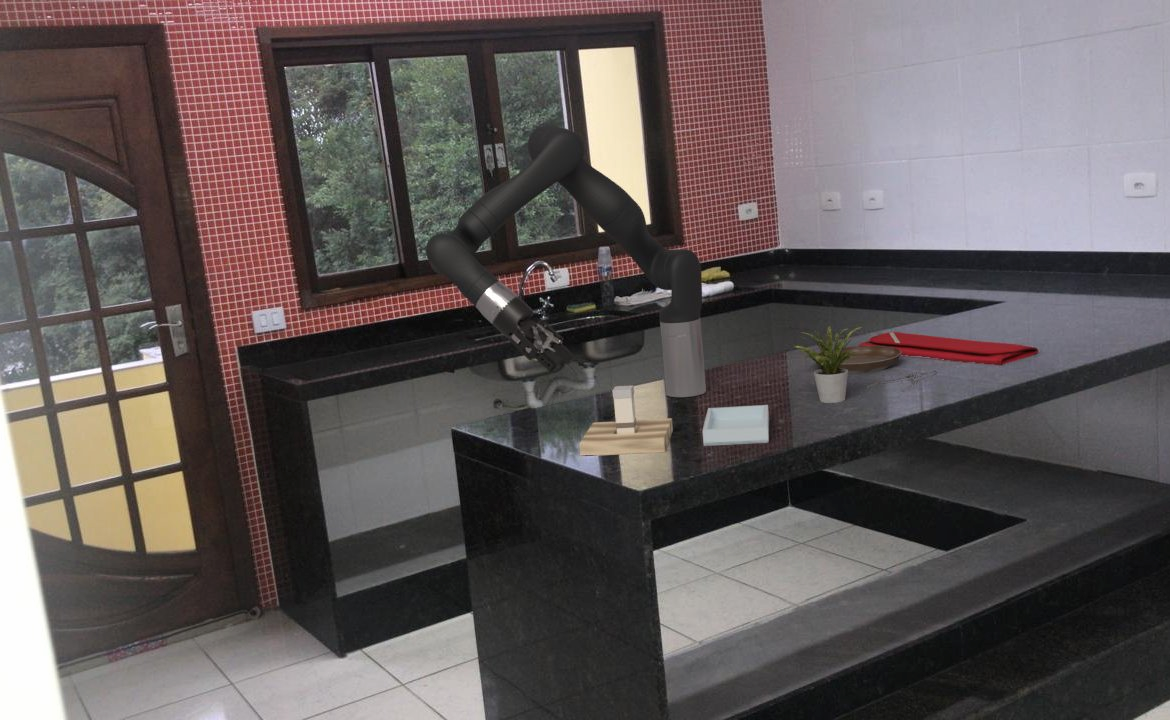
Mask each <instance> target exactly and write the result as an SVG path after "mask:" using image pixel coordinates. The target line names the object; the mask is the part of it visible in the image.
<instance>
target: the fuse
mask: <svg viewBox="0 0 1170 720" xmlns="http://www.w3.org/2000/svg"><path fill="white" fill-rule="evenodd" d="M634 395H635V388H634V385H619V386H618V385H617V386H614V387H613V389H612V399H613V405H614V415H615V416H614V417H615V421H616V428H617V434H626V433H637V426H636V420H637V416H636V407H635V406H636V405H635V396H634Z"/></svg>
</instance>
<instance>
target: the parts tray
mask: <svg viewBox="0 0 1170 720" xmlns="http://www.w3.org/2000/svg"><path fill="white" fill-rule="evenodd" d="M769 413H770V412H769V404H761V405H760V404H758V405H743V406H742V405H740V406H739V405H738V406H725V407H724V406H721V407H708V408H707V412H706V415H705V418H704V423H703V426H702V427H703V428H702V440H703V441H702V442H703V443H702V444H703V447H710V446H729V445H730V446H733V445H749V444H750V445H751V444H752V445H753V444H768V443H769V441H770V437H769V436H770V414H769Z"/></svg>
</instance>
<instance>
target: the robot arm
mask: <svg viewBox="0 0 1170 720" xmlns="http://www.w3.org/2000/svg"><path fill="white" fill-rule="evenodd" d="M527 151H528V155H529V158H530V160H531V162H530V163H529V164H528V165H527V166H526V167H525V168H523V169H522V170H521V171H520V172H518V173H517V174H516V175H514V176H512V177H511V178H508V179H507V180H505V181H504V182H502V183H500V184H499V185H496V186H495V187H493V188H491V189H490V190H488V191H487V192H485V194H483V195H482V196H481V197H479V199H477V200H476V201H475V202H474V203H473V204H472V205H471V206H470V207H469V208H468V209H467V210H465V212H464V213H462V215H461V216H460V217H459V219H458V223H457V225H456V226H455V228H454V229H453V230H451V232H450V233H444V232H441V233H436V234H434V235H431V237H430V238H429V240H428V241H427V243H426V246H425V253H426V258H427V260H428V262H429V264H430V267H431V268H432V270H433V271H434V272H435V273H437V274H438V275H440V276H446V277H447V278H448V279H449V280H450V281H452V283H453V284H454V285H455V287H456V288H457V289H458V291H459V292H460V293H461V295H462V296H464V298H465V299H467V300H468V301H469V302H470V303H471V304H472V305H473V307H475V308H476V309H477V310H478V311H479V312H480V313H481V315H482V316H483V317H484V318H485V319H486V320H487V321H488V322H489V323H490V324H492V325H493V326H494V328H495V329H497V330H498V331H499V332H500V333H501V334H502V335H503V336H504V337H505V338H506V339H509V342H510V343H511V345H513V347H515V348H516V349H517V350H518V351H519V352H520V353H521V354H522V355H523V357H525V358H526V359H527V360H529V361H532V360H534V361H535V362H537V361H538V362H539V363H540V364H541V365H542V366H543V367H544V368H545V369H546V370H548V371H549V373H551V374H553V373H554V372H556V370H557V369H558V368H559V366H560V364H559V362H558V361H557V360H556V359H554V357H552V356H551V355H550V354H549V353H548V352H547V351H545V350H546V349H548V350H550V351H552V352H554V354H555V355H556V356H557V357H559V358H560V359H561V360H562V362H564V363H565V364H567V365H569V364H570V363H572V361H574V359H575V358H576V357H575V354H573V352H572V351H570V350H569V349H568V348H567V347H566V346H565V345H564V344H563V340H564V338H563V336H562V335H560V333H558V332H557V331H556V330H555V329H554V328H553V327H552V326H550V325H549V324H548V323H547V322H546V321H545V320H543V319H541V320H539V322H536V321H534V320H533V319H532V318H533V317H534V310H533V309H532V308H531V307H530V306H529V305H528V304H527V303H526V302H525V301H524V300H522V299H521V298H520V297H519V295H517V294H516V293H515V292H514V291H513V290H512V289H511V288H509V287H508V286H507V285H506V284H504V283H503V282H502V281H500V280H499V279H498V278H497V277H496V276H495V275H494V274H493V273H492V272H490V271H489V269H487V268H486V267H485V266H483V265H482V264H481V263H480V262H479V261H478V260H477V258H475V256H474V255H475V254H476V253H477V251H479V250H480V248H481V247H482V245H483V244H484V243H485V242H486V241H488V239H489V238H491V237H492V236H493V234H495V233H496V232H498V230H499V229H500V228H501V227H502V226H503V225H504V224H505V223H506V222H508V221H509V219H510V218H512V217H513V216H514V215H515V214H517V212H519V211H520V210H521V209H522V208H524V207H525V206H526V205H528V203H530V202H531V201H532V200H534V199H535V198H536V197H538V196H539V195H540V194H542V193H543V192H544V191H546V190H548V188H550V187H552V186H553V185H554V184H556V183H558V184H559V185H560V186H562V188H563V189H565V190H566V191H567V192H568V193H569V194H570V196H571V197H572V198H573V199H574V201H576V203H577V204H578V205H579V206H580V207H581V208H582V209H583V210H584V211H585V212H586V214H587V215H589V217H590V218H591V219H592V220H593V221H594V223H596V224H597V225H598V226H599V227H600V229H602V230H603V232H605V233H606V234H607V235H608V236H609V237H610V238H611V239H612V240H613V241H614V242H615V243H616V244H617V245H618V246H619V247H620V248H622V251H624V252H625V253H626V254H627V255H628V256H629V257H630V258H631V259H632V260H633V261H634V262H635V264H636V265H637V266H638V267H639V269H640V270H641V271H642V273H643V274H644V275H645V276H646V278H647V279H648V280H649V282H650V283H651V284H652V285H654V286H655V287H656V288H658V289H660V290H664V291H671V300H670V302H669V303H668V304H667V305H664V306H663V307H661V308H660V309H659V315H658V316H659V325H660V326H659V327H660V336H661V347H662V349H661V350H662V358H663V359H662V360H663V361H662V362H663V370H664V372H663V373H664V383H665V395H666V396H668V397H671V398H689V397H697V396H700V395H704V394H705V393H707V387H706V386H707V385H706V373H705V361H704V350H703V349H704V347H703V336H702V334H703V333H702V323H701V309H702V306H703V278H702V267H701V263H700V260H699V257H698V255H697V254H696V252H694V251H692V250H690V249H667V248H666V247H664V246H662V245H661V244H660V243H659V242H658V241H657V240H656V239H655V238H654V237H653V236H652V235H651V234H650V232H649V231H648V228H647V227H648V226H647V220H646V217H645V213H644V212H643V210H642V208H641V206H640V205H639V204H638V203H637V202H636V201H635V200H634V199H633V197H631V196H630V194H629V193H628V192H627V191H626V190H624V189H623V187H621V186H620V185H619V184H617V182H614V181H613V180H612V179H610V177H608V176H606V174H603V173H602V172H601V171H600V170H597V169H596V168H594V167H593V166H592V165H591V164H589V163H588V162H587V161H586V160H585V159H584V156H585V145H584V141H583V139H582V138H581V137H580V135H579V134H578V133H577V132H575V131H573V130H571V129H568V128H564V127H561V126H558V125H551V124H550V125H549V124H548V125H541V126H539V127H536V129H534V130H533V131H532V132H531V133H530V135H529V137H528V142H527Z"/></svg>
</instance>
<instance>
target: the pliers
mask: <svg viewBox="0 0 1170 720" xmlns="http://www.w3.org/2000/svg"><path fill="white" fill-rule="evenodd" d="M933 372H936V373H937V370H933V371H930V372H926V373H927V374H928V373H930V374H931V373H933ZM915 373H916V374H917V372H913V373H912V374H909V375H906V376H904V377H900V378H895V379H888V380H882V381H877V382H874V383H871V384H870V385H869V384H868V385H867V386H866V389H870V388H872V387H874V386H873V385H875V386H877V385H876V384H879V383H883V384H885V383H884V382H888V381H889V382H890V381H895V380H901V379H904V378H910V377H914V375H913V374H915ZM911 375H912V376H911ZM920 377H921V376H920ZM915 378H916V375H915V377H914V379H915ZM917 378H918V376H917ZM912 380H913V379H912ZM913 381H914V380H913ZM915 382H916V381H914V382H913V385H912V384H911V385H909V386H908V387H904V388H901V389H900V390H899V392H900V391H901V390H905V389H908V388H910V387H912V386H914V385H915ZM890 383H891V382H890ZM879 385H880V384H879ZM871 386H872V387H871ZM869 387H870V388H869Z"/></svg>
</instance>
